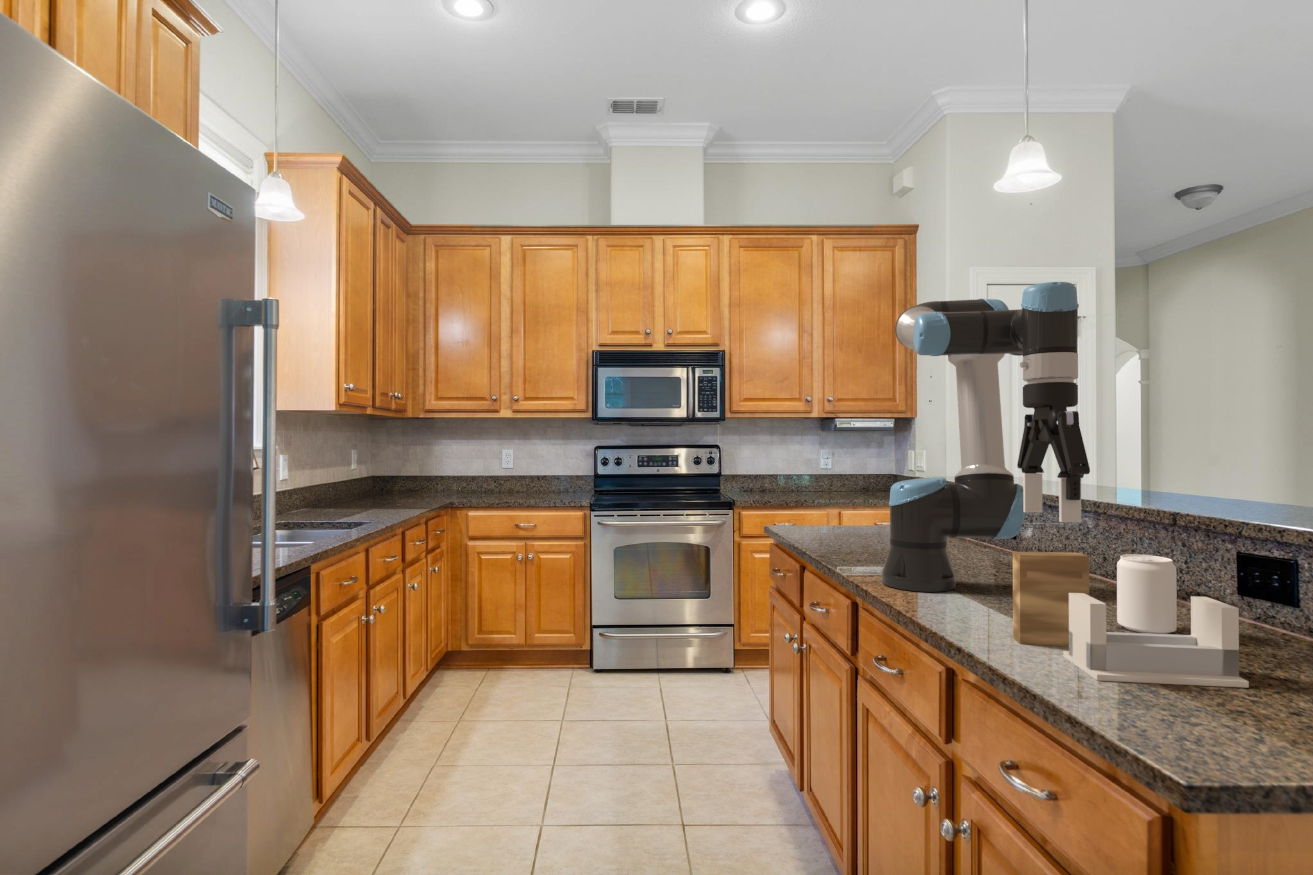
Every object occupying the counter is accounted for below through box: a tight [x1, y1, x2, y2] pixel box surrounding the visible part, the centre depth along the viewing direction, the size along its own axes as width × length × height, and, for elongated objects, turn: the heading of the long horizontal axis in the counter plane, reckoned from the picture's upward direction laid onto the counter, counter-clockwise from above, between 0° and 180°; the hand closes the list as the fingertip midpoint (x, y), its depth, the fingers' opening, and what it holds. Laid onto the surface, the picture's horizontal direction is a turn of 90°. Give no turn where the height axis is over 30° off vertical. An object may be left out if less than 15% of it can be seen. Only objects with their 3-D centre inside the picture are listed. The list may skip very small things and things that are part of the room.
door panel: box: [1012, 551, 1090, 647], centre depth 106 cm, size 3×10×14 cm, turn 81°
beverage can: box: [1116, 553, 1178, 634], centre depth 113 cm, size 8×8×12 cm
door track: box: [1062, 593, 1250, 689], centre depth 93 cm, size 10×18×10 cm, turn 81°
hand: (1050, 517), depth 106 cm, fingers open, 13 cm apart
